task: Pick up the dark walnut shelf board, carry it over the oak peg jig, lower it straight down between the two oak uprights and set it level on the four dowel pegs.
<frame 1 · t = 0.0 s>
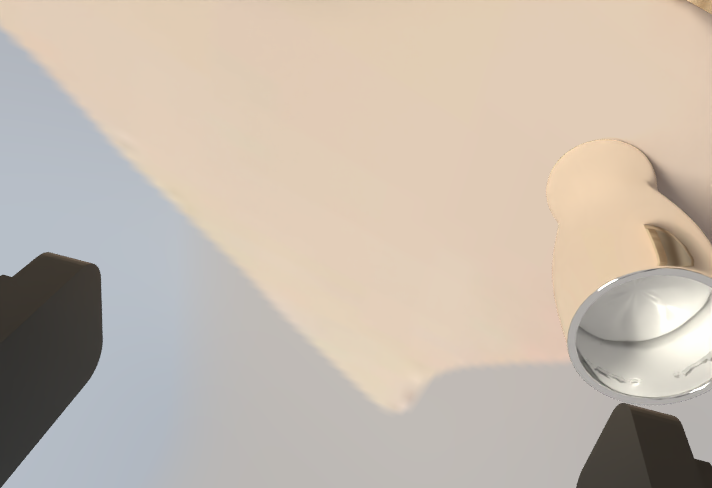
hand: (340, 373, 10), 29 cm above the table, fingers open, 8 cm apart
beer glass: (598, 186, 38), on the table
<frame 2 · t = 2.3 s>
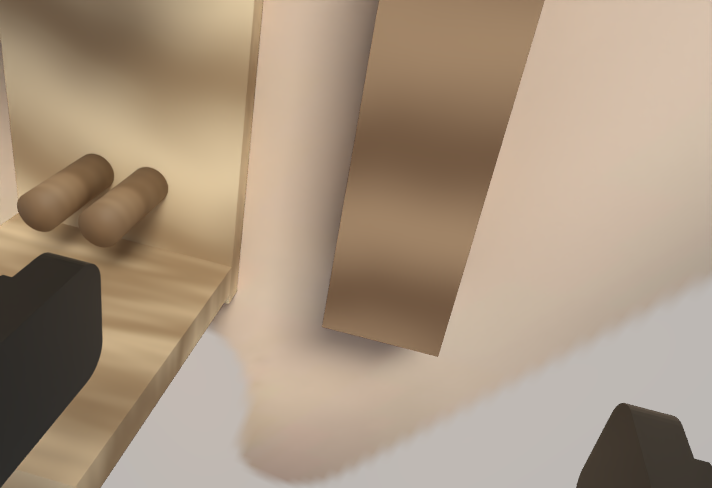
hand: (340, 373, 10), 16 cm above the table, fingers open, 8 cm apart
shelf board: (439, 94, 24), on the table
peg jig: (133, 27, 25), on the table
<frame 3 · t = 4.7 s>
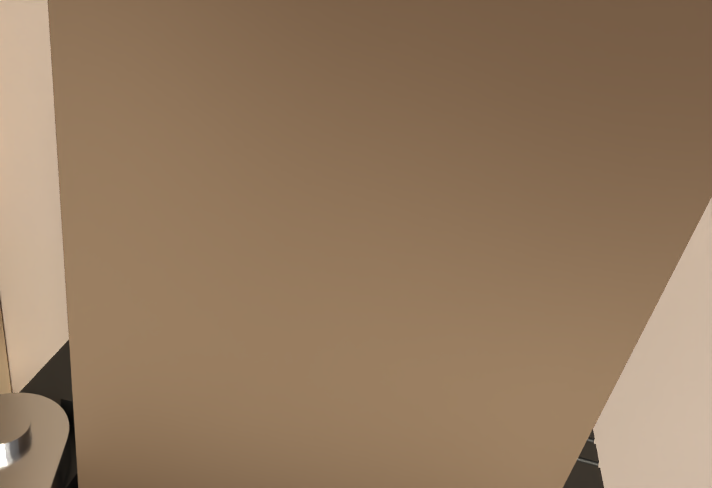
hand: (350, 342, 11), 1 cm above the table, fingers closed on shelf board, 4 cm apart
shelf board: (359, 318, 11), on the table, touching gripper
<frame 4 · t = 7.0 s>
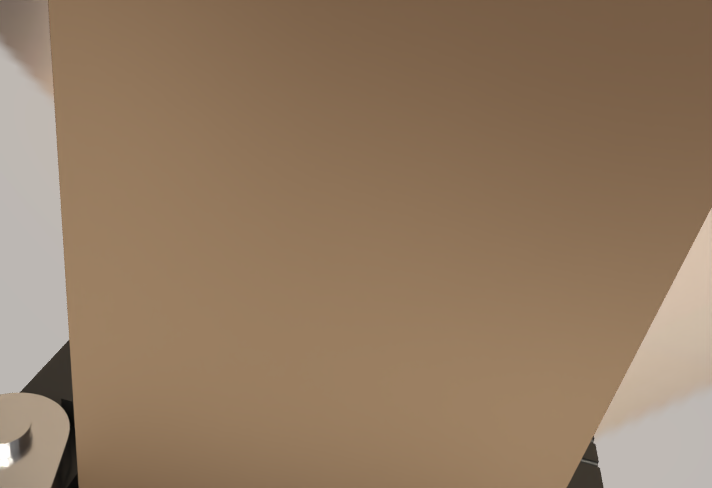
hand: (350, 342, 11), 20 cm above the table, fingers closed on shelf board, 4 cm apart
shelf board: (359, 320, 11), point 19 cm above the table, touching gripper
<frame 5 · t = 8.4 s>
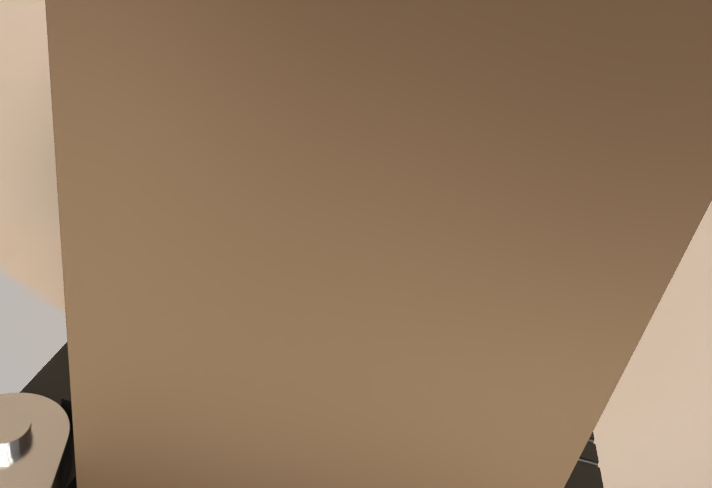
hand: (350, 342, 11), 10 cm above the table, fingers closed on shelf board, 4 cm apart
shelf board: (358, 320, 11), point 9 cm above the table, touching gripper
when the fingers open (7 cm above the table, at t = 9.4 s): shelf board drops 1 cm, resting on peg jig.
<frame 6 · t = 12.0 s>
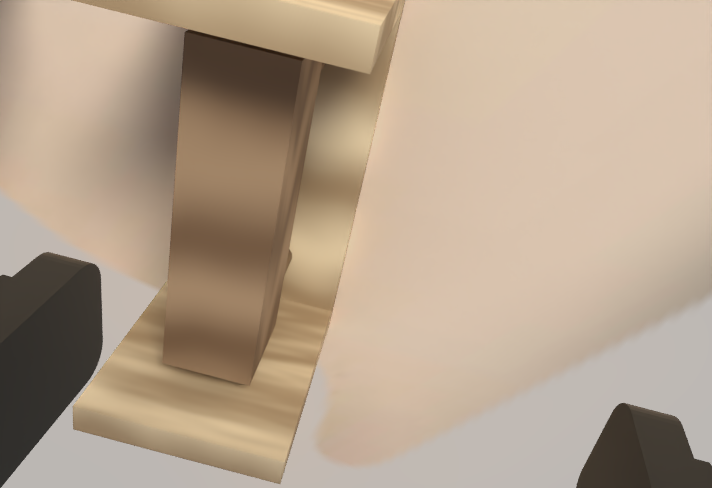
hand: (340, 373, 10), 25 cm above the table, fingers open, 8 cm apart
shelf board: (254, 186, 32), point 5 cm above the table, touching peg jig
peg jig: (277, 151, 36), on the table
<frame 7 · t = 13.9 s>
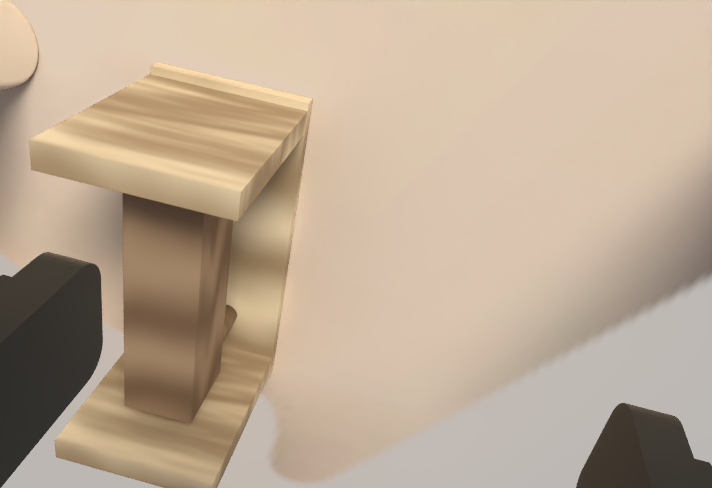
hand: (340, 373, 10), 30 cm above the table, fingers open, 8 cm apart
shelf board: (195, 269, 41), point 5 cm above the table, touching peg jig
peg jig: (221, 233, 45), on the table
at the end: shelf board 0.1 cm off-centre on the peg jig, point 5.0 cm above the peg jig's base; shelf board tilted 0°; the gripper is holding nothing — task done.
